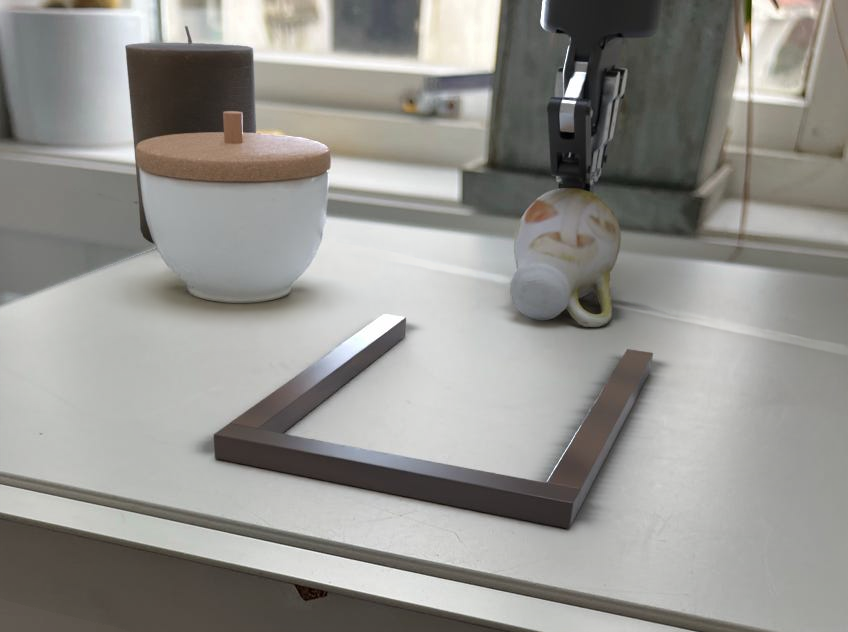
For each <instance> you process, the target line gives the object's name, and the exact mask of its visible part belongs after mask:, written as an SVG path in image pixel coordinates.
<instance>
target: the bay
mask: <svg viewBox="0 0 848 632" xmlns="http://www.w3.org/2000/svg"><path fill="white" fill-rule="evenodd" d="M406 330H407V316H401V315H392V314H386V313H384V314H382V315H381V316H379V317H378V318H376V319H375V320H374V321H372V322H371V323H369V324H368V325H366V326H365V327H363V328H361V330H359V331H357V332H356V333H355V334H354V335H351V337H349V338H348V339H346V340H345V341H343V342H342V343H341V344H339V345H338V346H337V347H334V349H333V350H331V351H330V352H327V354H325V355H324V356H322V357H321V358H319V359H318V360H317V361H315V362H314V363H312V364H311V365H309V366H308V367H307V368H305V369H304V370H303V371H301V372H300V373H298V374H297V375H296V376H294V377H292V378H291V379H289V380H288V381H287V382H286V383H284V384H283V385H281V386H279V387H278V388H277V389H276V390H274V391H273V392H271V393H270V394H268V395H267V396H265V397H264V398H263V399H261V400H260V401H259V402H257V403H256V404H255V405H253V406H251V407H250V408H249V409H247V410H246V411H245V412H243V413H242V414H240V415H238V417H236V418H234V419H233V420H231V421H229V423H228V424H226V425H225V426H223V427H222V428H221V429H219V430H218V431H216V432H215V433H214V434H213V448H214V449H213V450H214V458H215V459H216V460H221V461H225V462H226V461H227V462H231V463H235V464H236V463H237V464H241V465H246V466H252V467H256V468H261V469H265V470H266V469H267V470H272V471H277V472H281V473H286V474H291V475H296V476H301V477H307V478H312V479H317V480H322V481H326V482H330V483H331V482H332V483H336V484H341V485H346V486H351V487H357V488H361V489H366V490H371V491H377V492H382V493H387V494H392V495H395V496H396V495H397V496H402V497H407V498H412V499H416V500H423V501H426V502H432V503H437V504H442V505H447V506H451V507H458V508H461V509H467V510H471V511H472V510H473V511H476V512H483V513H487V514H492V515H498V516H502V517H508V518H512V519H517V520H523V521H527V522H532V523H538V524H543V525H547V526H552V527H557V528H561V529H566V530H567V529H568V530H569V529H570V528H571V526H572V525H573V522H574V521H575V519H576V517H577V514H578V513H579V511H580V509H581V507H582V505H583V503H584V502H585V499H586V497H587V496H588V493H589V491H590V489H591V487H592V485H593V483H594V481H595V480H596V477H597V476H598V475H599V472H600V470H601V468H602V466H603V464H604V463H605V460H606V458H607V457H608V455H609V453H610V450H611V449H612V447H613V445H614V443H615V441H616V439H617V437H618V435H619V433H620V431H621V429H622V427H623V425H624V424H625V421H626V419H627V417H628V415H629V414H630V412H631V409H632V408H633V406H634V404H635V402H636V400H637V398H638V395H639V394H640V392H641V390H642V388H643V386H644V385H645V382H646V380H647V378H648V376H649V375H650V373H651V367H652V363H653V356H654V353H653V352H651V351H644V350H638V349H631V348H628V349H626V350H625V352H624V354H623V356H622V357H621V358H620V360H619V362H618V364H617V365H616V367H615V369H614V370H613V372H612V374H611V375H610V376H609V379H608V380H607V381H606V383H605V385H604V386H603V388H602V390H601V392H600V393H599V395H598V397H597V398H596V400H595V401H594V403H593V405H592V406H591V408H590V410H589V411H588V413H587V414H586V416H585V418H583V421H582V422H581V424H580V426H579V427H578V430H577V431H576V432H575V434H574V435H573V438H572V439H571V441H570V442H569V444H568V445H567V448H566V449H565V451H564V452H563V454H562V456H561V457H560V459H559V460H558V462H557V463H556V465H555V467H554V469H553V470H552V471H551V474H550V475H549V477H548V478H547V480H546V482H545V481H538V480H533V479H529V478H522V477H517V476H513V475H512V476H511V475H507V474H501V473H495V472H490V471H484V470H479V469H474V468H469V467H464V466H459V465H454V464H448V463H443V462H437V461H432V460H427V459H420V458H416V457H411V456H405V455H400V454H394V453H388V452H383V451H378V450H372V449H368V448H367V449H366V448H361V447H357V446H351V445H346V444H341V443H335V442H331V441H324V440H319V439H314V438H308V437H304V436H298V435H292V434H288V433H285V432H286V431H288V430H289V429H290V428H291V427H293V426H294V425H295V424H297V423H298V422H299V421H300V420H301V419H303V418H304V417H305V416H306V415H308V414H309V413H310V412H311V411H312V410H313V411H314V409H315V408H316V407H318V406H319V405H320V404H321V403H323V402H324V401H326V400H327V399H328V398H329V397H330V396H332V395H333V394H334V393H336V392H337V391H338V390H339V389H341V388H342V387H343V386H344V385H346V384H347V383H348V382H349V381H351V380H352V379H353V378H354V377H356V376H357V375H358V374H359V373H361V372H362V371H364V370H365V369H366V368H367V367H369V366H370V365H371V364H372V363H374V362H375V361H376V360H377V359H379V358H380V357H381V356H382V355H384V353H386V352H387V351H389V350H390V349H392V348H393V347H394V346H395V345H396V344H398V343H399V342H400V341H401V340H402V339H404V338H405V337H406V332H407V331H406Z"/></svg>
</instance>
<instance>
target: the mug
mask: <svg viewBox="0 0 848 632" xmlns="http://www.w3.org/2000/svg"><path fill="white" fill-rule="evenodd" d="M621 236H622V234H621V228H620V225H619V222H618V219H617V217H616V215H615V213H614V211H613V210H612V209H611V207H610V206H609V205H608V204H607V203H606V202H605V201H604V200H603V199H602V198H600V197H599V196H597V195H596V194H595V193H593V194H592V193H590V192H588V191H585V190H582V189H576V188H561V189H558V188H556V189H551V190H549V191H546V192H545V193H543V194H542V195H541V196H538V197H537V198H536V200H534V201H533V202H532V203H531V204H530V205H529V206H528V207H527V208H526V210H525V212H524V213H523V215H522V217H520V219H519V222H518V224H517V226H516V230H515V233H514V240H513V241H514V242H513V255H514V256H513V257H514V262H515V267H516V272H515V273H514V274H513V276H512V278H511V281H510V283H509V284H510V285H509V287H510V288H509V293H510V298H511V301H512V304H513V305H514V307H515V308H516V309H517V311H519V312H520V313H521V314H523V315H524V316H525V317H527V318H530V319H532V320H536V321H547V320H551V319H555V318H556V317H557V316H559V315H560V314H561V313H562V312H564V310H567V311H568V313H569V315H570V317H571V318H573V320H574V321H576V322H577V324H578V325H581V326H583V327H585V328H600V327H601V326H604V325H606V324H608V323H609V322H610V321H611V320H612V317H613V305H612V298H611V287H610V281H611V272H612V270H613V269H614V266H615V264H616V263H617V259H618V257H619V253H620V249H621V240H622V237H621ZM592 291H595V292H596V296H597V298H598V301H599V305H600V310H601V311H600V312H601V313H599V314H598V313H597V314H596V313H591V312H589V311H587V310H585V309H584V308H583V306H582V305H581V303H580V301H579V298H582V297H584V296H586V295H588V294H589V293H591V292H592Z"/></svg>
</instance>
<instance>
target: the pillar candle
mask: <svg viewBox="0 0 848 632" xmlns="http://www.w3.org/2000/svg"><path fill="white" fill-rule="evenodd" d="M184 28H185V33H186V36H187V42H139V43H138V42H137V43H130V44H126V45H125V46H124V47H125V48H124V49H125V57H126V59H125V60H126V70H127V78H128V79H127V80H128V81H127V83H128V93H129V104H130V115H131V117H130V118H131V128H132V136H133V148H134V149H133V150H134V152H135V148H136V146H137V144H138V143H140V142H141V141H143V140H147V139H150V138H154V137H159V136H166V135H173V134H186V133H206V132H224V122H223V112H225V111H238V112H242V126H243V133H257V120H256V119H257V118H256V116H257V115H256V90H255V85H256V84H255V63H254V48H253V47H252V46H248V45H240V44H239V45H238V44H222V43H205V42H204V43H203V42H201V43H199V42H195V43H194V42H193V40H192V36H191V34H190V30H189V27H188V26H187V25H184ZM134 160H135V173H136V174H135V175H136V186H137V195H138V210H139V211H138V212H139V227H140V228H139V230H140V232H141V235H142V237H143V238H144V239H145V240H146V241H148V243H150V244H152V245H155V244H154V242H153V239H152V237H151V234H150V230H149V227H148V224H147V220H146V216H145V211H144V206H143V201H142V193H141V184H140V172H139V167H138V166H137V163H136V154H135V153H134Z"/></svg>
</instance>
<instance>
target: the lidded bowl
mask: <svg viewBox="0 0 848 632" xmlns="http://www.w3.org/2000/svg"><path fill="white" fill-rule="evenodd" d="M223 122H224V132H206V133H186V134H173V135H166V136H159V137H154V138H150V139H147V140H143V141H141V142H140V143H138V144H137V146H136V148H135V151H134V155H135V154H136V162H135V164H136V163H137V166H138V167H139V172H140V184H141V193H142V201H143V206H144V211H145V216H146V220H147V224H148V227H149V230H150V234H151V237H152V239H153V242H154V244H153V245H154V246H155V248H156V250H157V253H158V254H159V256H160V257H161V259H162V261H163V262H164V264H165V265H166V266H167V267H168V269H170V270H171V272H172V273H173V274H174V275H175V276H176V277H177V278H178V279H179V280H181V281H182V282H183V283H184V284H185V285H186V287H187V291H188V293H189V294H191V296H194V297H196V298H199V299H203V300H207V301H212V302H219V303H234V304H239V303H241V304H243V303H244V304H247V303H260V302H266V301H267V302H268V301H272V300H273V301H274V300H276V299H280V298H283V297H285V296H287V295H289V294H290V293H291V291H292V286H293V284H294V283H295V282H296V281H297V280H299V279H300V277H301V276H302V275H304V274H305V272H306V270H307V269H308V268H309V267H310V266H311V264H312V263H313V261H314V259H315V257H316V256H317V253H318V250H319V247H320V245H321V243H322V240H323V236H324V231H325V228H326V227H325V226H326V222H327V214H328V205H329V188H330V187H329V183H330V181H329V178H330V177H329V174H330V173H329V170H330V169H331V165H332V150H331V149H330V147H329V146H328V145H327V144H324V143H322V142H320V141H317V140H314V139H310V138H305V137H301V136H293V135H283V134H274V133H261V132H260V133H259V132H256V133H243V126H242V112H238V111H225V112H223Z"/></svg>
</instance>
